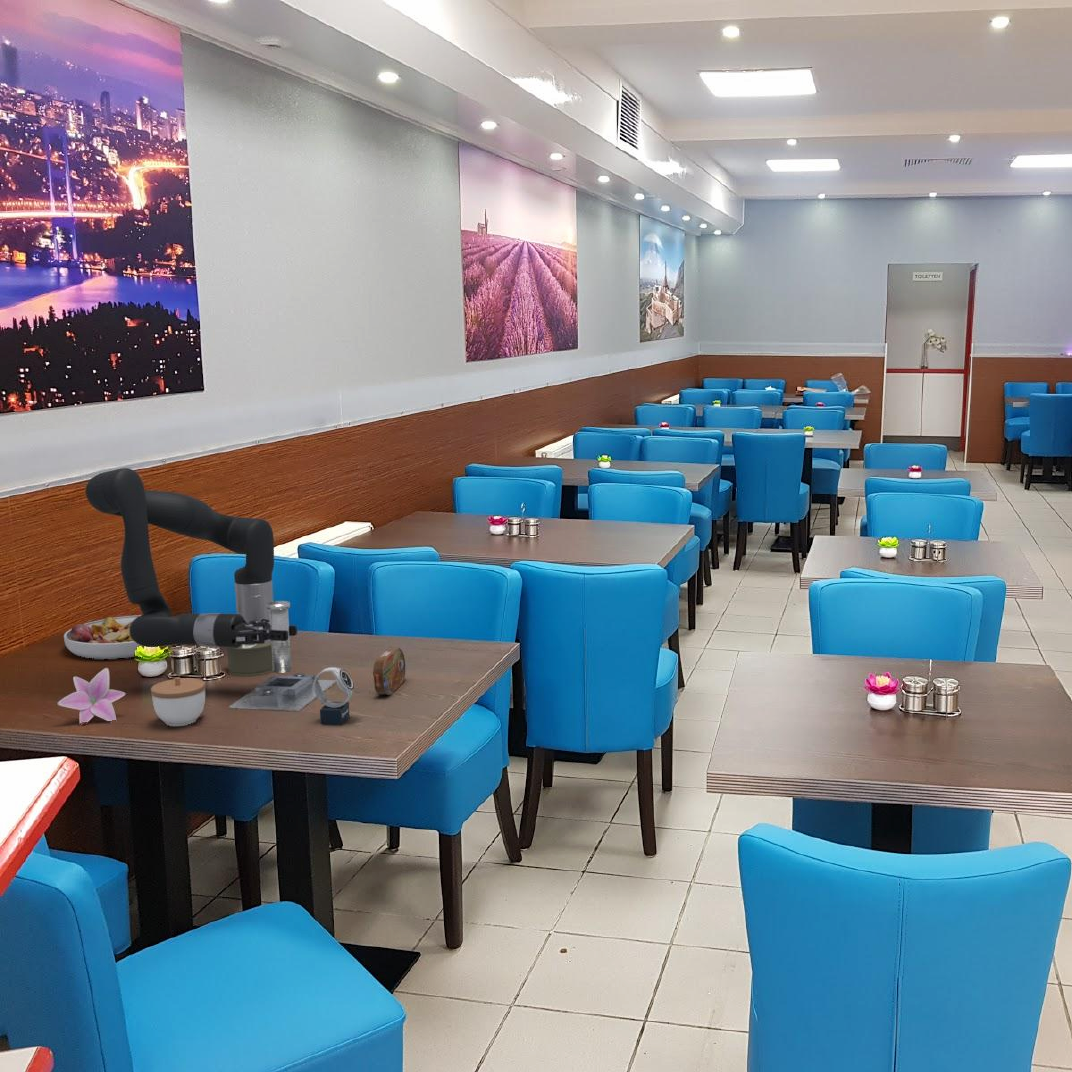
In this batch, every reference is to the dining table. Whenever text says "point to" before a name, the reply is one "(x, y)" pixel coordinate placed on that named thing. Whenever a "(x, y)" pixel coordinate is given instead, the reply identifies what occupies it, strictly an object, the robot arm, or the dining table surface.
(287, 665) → the steel pin
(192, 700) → the lidded jar
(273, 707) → the grey fixture plate
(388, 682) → the tin
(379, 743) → the dining table surface
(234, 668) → the can
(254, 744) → the dining table surface
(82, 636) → the bowl
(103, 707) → the lily
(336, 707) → the watch
